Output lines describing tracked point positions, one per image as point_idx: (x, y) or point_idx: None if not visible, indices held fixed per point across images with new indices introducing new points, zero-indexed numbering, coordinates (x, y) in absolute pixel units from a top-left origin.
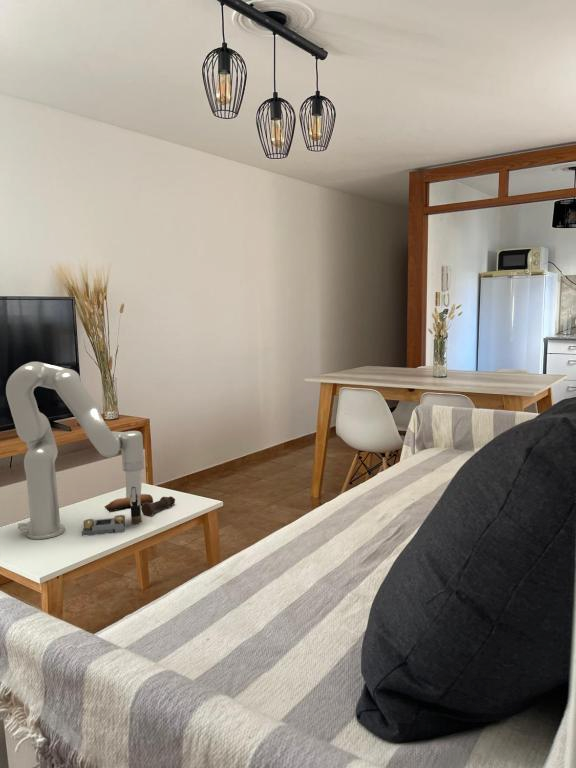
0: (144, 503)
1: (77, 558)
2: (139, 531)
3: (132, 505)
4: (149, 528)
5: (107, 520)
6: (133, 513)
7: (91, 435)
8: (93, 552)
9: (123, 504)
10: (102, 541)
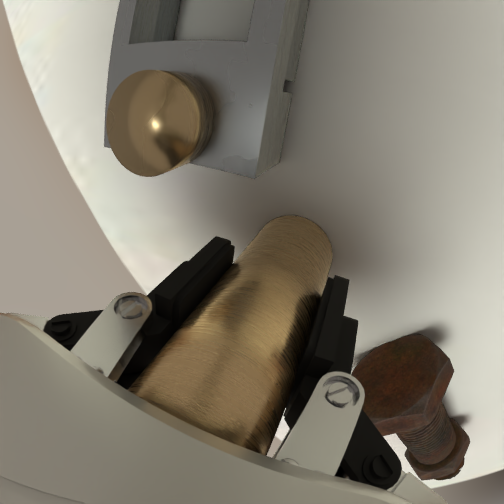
0: (409, 411)
1: (14, 3)
2: (134, 224)
3: (121, 311)
4: None
5: (257, 5)
6: (182, 266)
7: None
8: (22, 35)
9: None
10: (77, 33)
